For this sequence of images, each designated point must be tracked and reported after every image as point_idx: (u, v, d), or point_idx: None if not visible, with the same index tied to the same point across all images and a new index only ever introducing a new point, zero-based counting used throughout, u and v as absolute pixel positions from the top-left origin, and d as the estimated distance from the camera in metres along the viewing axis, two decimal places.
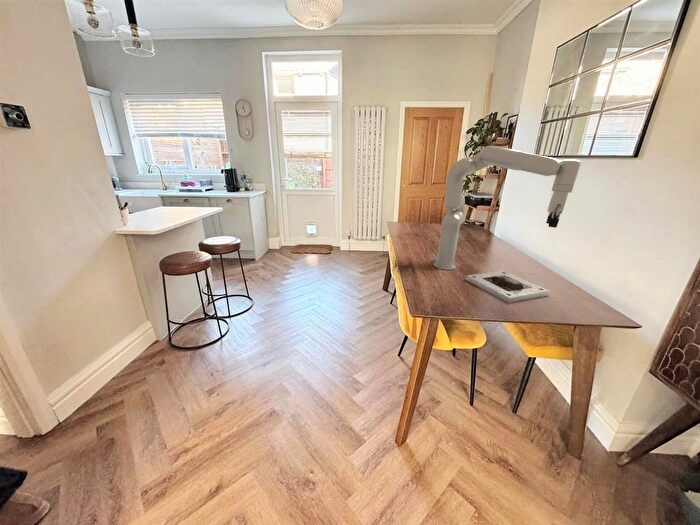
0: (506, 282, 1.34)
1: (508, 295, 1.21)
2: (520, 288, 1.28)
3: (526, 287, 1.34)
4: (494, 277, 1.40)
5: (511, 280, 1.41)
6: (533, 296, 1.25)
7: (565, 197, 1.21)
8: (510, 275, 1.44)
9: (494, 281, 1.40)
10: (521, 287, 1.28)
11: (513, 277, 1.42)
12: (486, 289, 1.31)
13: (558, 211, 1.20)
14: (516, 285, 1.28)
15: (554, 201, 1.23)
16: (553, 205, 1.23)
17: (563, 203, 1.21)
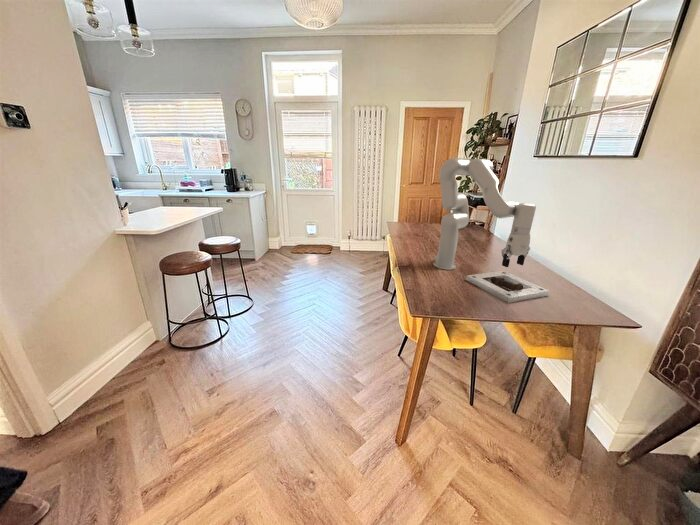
0: (506, 282, 1.33)
1: (508, 295, 1.21)
2: (520, 288, 1.28)
3: (526, 287, 1.34)
4: (493, 278, 1.39)
5: (511, 280, 1.41)
6: (533, 296, 1.25)
7: None
8: (510, 275, 1.44)
9: (493, 282, 1.39)
10: (521, 287, 1.28)
11: (513, 277, 1.42)
12: (486, 289, 1.31)
13: None
14: (517, 285, 1.27)
15: None
16: None
17: None
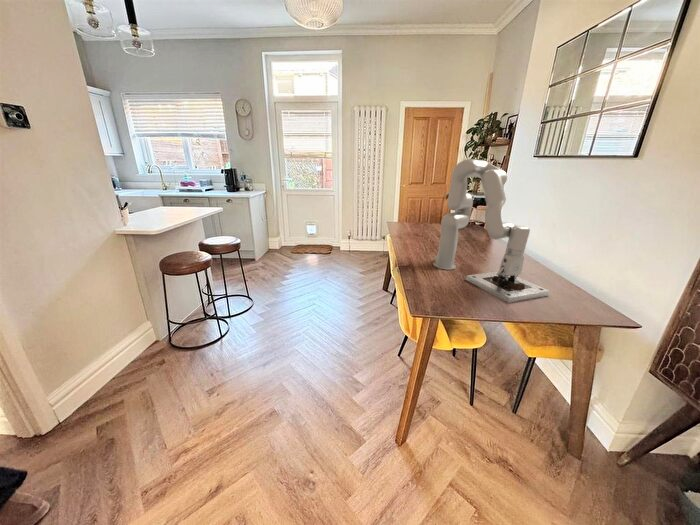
0: (507, 282, 1.33)
1: (508, 295, 1.21)
2: (522, 288, 1.28)
3: (526, 287, 1.34)
4: (495, 277, 1.39)
5: None
6: (533, 296, 1.25)
7: None
8: None
9: (495, 281, 1.39)
10: (523, 287, 1.28)
11: None
12: (486, 289, 1.31)
13: None
14: (518, 285, 1.28)
15: None
16: None
17: None
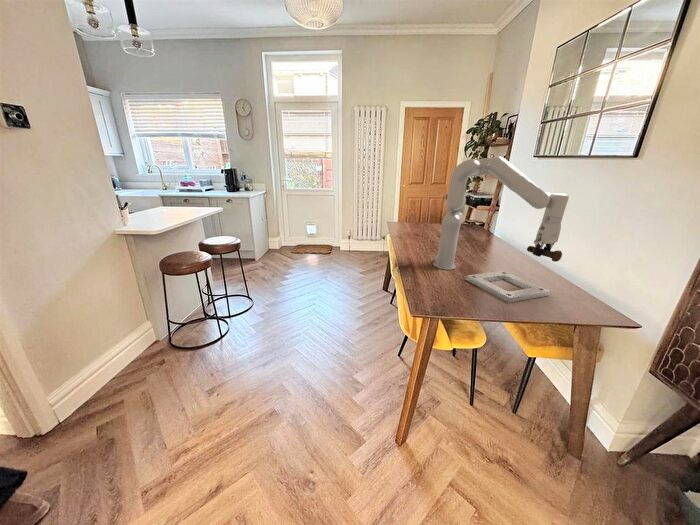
0: (544, 250, 1.35)
1: (508, 295, 1.21)
2: (559, 255, 1.30)
3: (526, 287, 1.34)
4: (530, 247, 1.41)
5: (511, 280, 1.41)
6: (533, 296, 1.25)
7: None
8: (510, 275, 1.44)
9: (530, 251, 1.41)
10: (560, 254, 1.30)
11: (513, 277, 1.42)
12: (486, 289, 1.31)
13: None
14: (555, 252, 1.29)
15: None
16: None
17: None
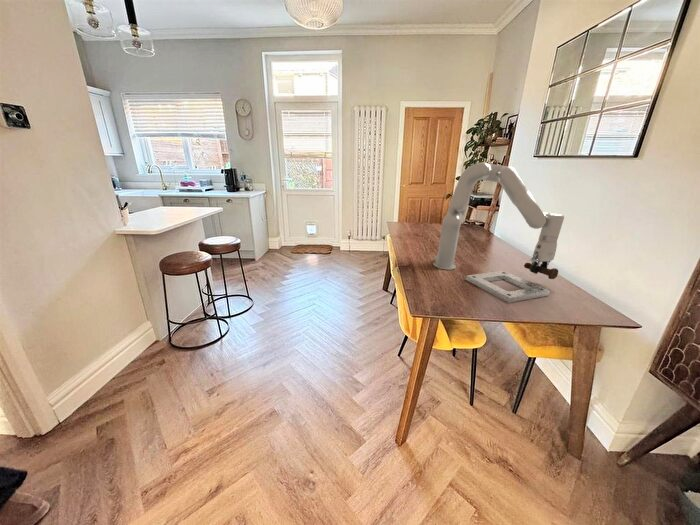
0: (540, 268, 1.38)
1: (508, 295, 1.21)
2: (555, 273, 1.33)
3: (526, 287, 1.34)
4: (527, 263, 1.45)
5: (511, 280, 1.41)
6: (533, 296, 1.25)
7: None
8: (510, 275, 1.44)
9: (527, 267, 1.44)
10: (556, 272, 1.34)
11: (513, 277, 1.42)
12: (486, 289, 1.31)
13: None
14: (552, 270, 1.33)
15: None
16: None
17: None
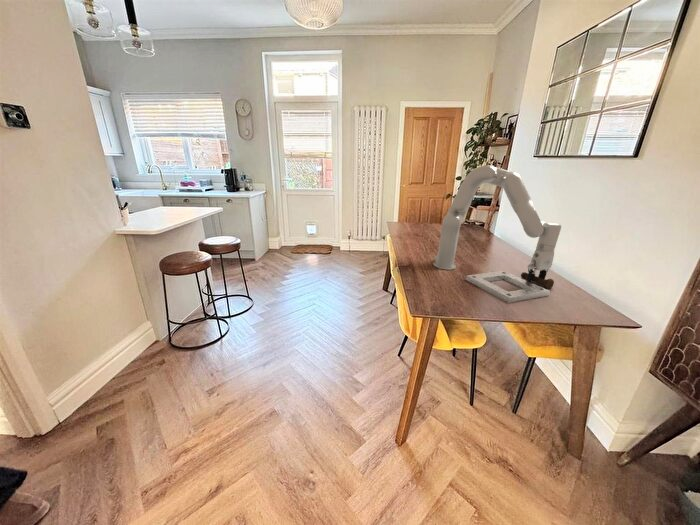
0: (536, 278, 1.41)
1: (508, 295, 1.21)
2: (551, 283, 1.35)
3: (526, 287, 1.34)
4: (524, 273, 1.47)
5: (511, 280, 1.41)
6: (533, 296, 1.25)
7: None
8: (510, 275, 1.44)
9: (524, 277, 1.47)
10: (552, 282, 1.35)
11: (513, 277, 1.42)
12: (486, 289, 1.31)
13: None
14: (547, 280, 1.35)
15: None
16: None
17: None
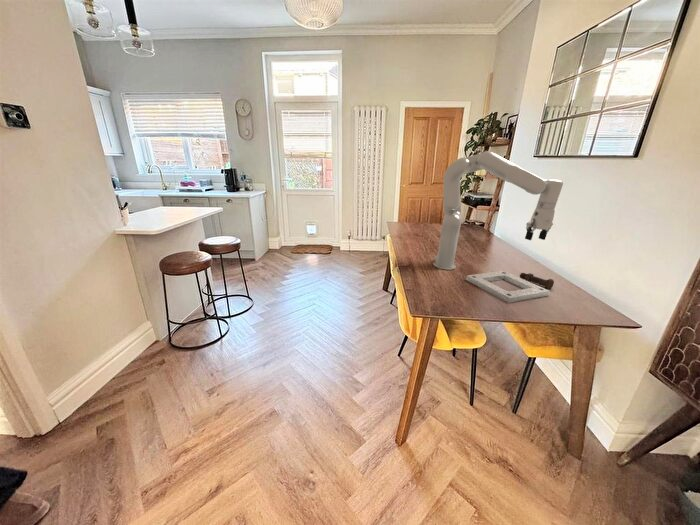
0: (536, 278, 1.40)
1: (508, 295, 1.21)
2: (551, 283, 1.35)
3: (526, 287, 1.34)
4: (522, 274, 1.46)
5: (511, 280, 1.41)
6: (533, 296, 1.25)
7: None
8: (510, 275, 1.44)
9: (523, 278, 1.46)
10: (552, 282, 1.35)
11: (513, 277, 1.42)
12: (486, 289, 1.31)
13: None
14: (548, 281, 1.34)
15: None
16: None
17: None
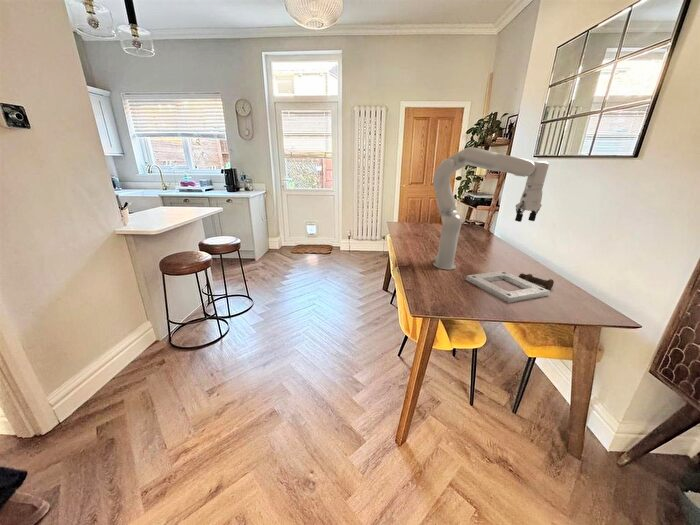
0: (536, 279, 1.39)
1: (508, 295, 1.21)
2: (552, 284, 1.35)
3: (526, 287, 1.34)
4: (521, 274, 1.45)
5: (511, 280, 1.41)
6: (533, 296, 1.25)
7: None
8: (510, 275, 1.44)
9: (522, 278, 1.45)
10: (552, 283, 1.35)
11: (513, 277, 1.42)
12: (486, 289, 1.31)
13: None
14: (549, 281, 1.34)
15: None
16: None
17: None
